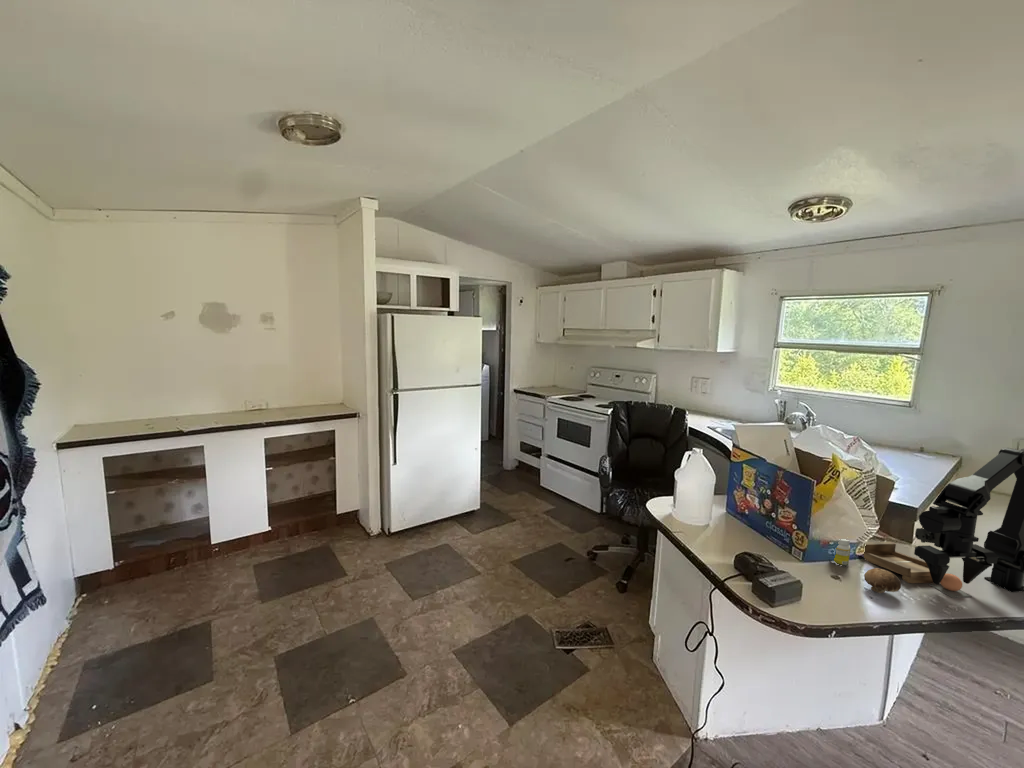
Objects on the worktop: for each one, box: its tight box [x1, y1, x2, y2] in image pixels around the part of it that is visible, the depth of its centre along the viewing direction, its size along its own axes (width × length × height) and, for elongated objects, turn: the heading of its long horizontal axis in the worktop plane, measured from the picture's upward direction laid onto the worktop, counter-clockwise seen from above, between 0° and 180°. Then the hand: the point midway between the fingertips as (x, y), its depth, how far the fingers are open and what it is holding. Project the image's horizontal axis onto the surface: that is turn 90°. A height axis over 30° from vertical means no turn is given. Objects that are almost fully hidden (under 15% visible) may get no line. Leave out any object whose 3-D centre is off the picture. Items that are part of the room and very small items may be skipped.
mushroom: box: [863, 567, 902, 594], centre depth 116 cm, size 8×8×6 cm
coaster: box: [927, 583, 973, 598], centre depth 118 cm, size 6×6×1 cm
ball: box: [940, 572, 963, 591], centre depth 118 cm, size 4×4×4 cm
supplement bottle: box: [834, 539, 851, 567], centre depth 131 cm, size 5×5×8 cm
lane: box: [864, 541, 933, 584], centre depth 129 cm, size 11×16×5 cm
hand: (950, 583), depth 118 cm, fingers open, 9 cm apart
